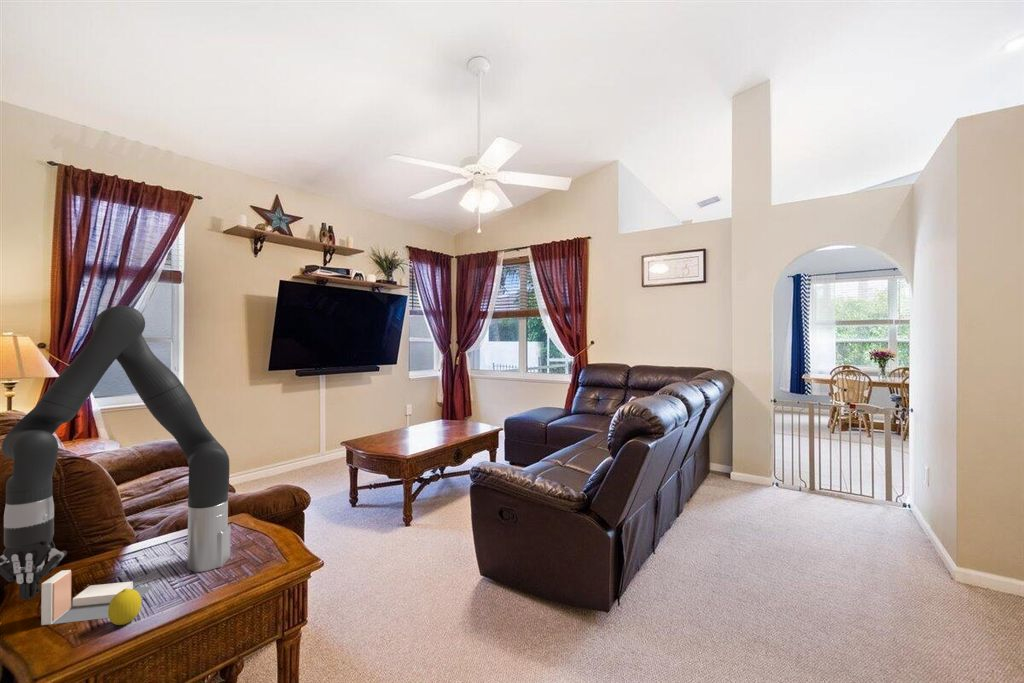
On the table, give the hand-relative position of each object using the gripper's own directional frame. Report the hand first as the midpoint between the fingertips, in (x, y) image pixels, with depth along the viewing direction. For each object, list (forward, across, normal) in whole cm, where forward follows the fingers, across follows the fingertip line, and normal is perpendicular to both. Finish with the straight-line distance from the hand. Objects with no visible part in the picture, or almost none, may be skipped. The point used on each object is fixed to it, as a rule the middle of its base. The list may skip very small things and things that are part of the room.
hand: (29, 597), depth 98 cm
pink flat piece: (+5, -5, 0) cm, 7 cm away
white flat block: (+4, -6, -6) cm, 9 cm away
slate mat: (+5, -12, -3) cm, 13 cm away
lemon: (+6, -21, +6) cm, 23 cm away
